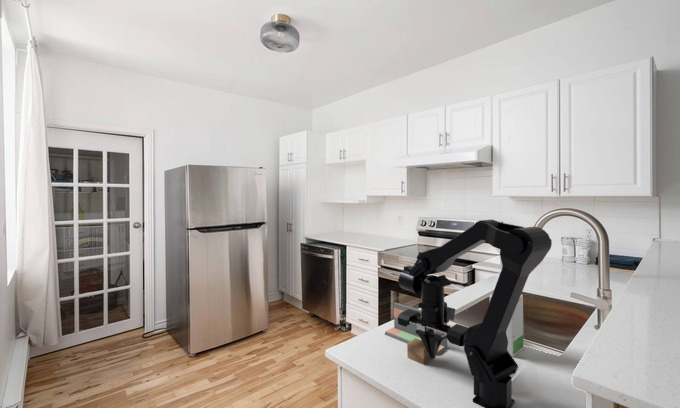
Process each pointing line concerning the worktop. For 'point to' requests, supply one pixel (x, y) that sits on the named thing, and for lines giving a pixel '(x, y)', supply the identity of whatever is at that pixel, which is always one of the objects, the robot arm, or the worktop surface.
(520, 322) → the skincare box
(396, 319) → the tuner gauge
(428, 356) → the block
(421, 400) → the worktop surface
